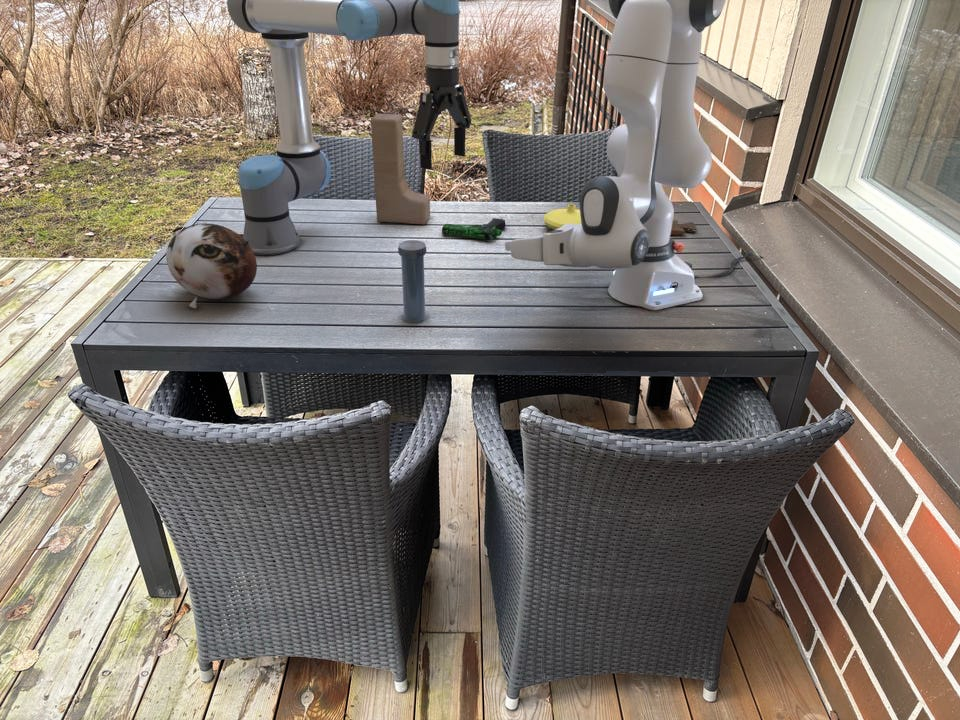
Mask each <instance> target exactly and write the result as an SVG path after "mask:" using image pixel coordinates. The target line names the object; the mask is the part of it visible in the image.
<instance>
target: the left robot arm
mask: <svg viewBox="0 0 960 720" xmlns="http://www.w3.org/2000/svg"><path fill="white" fill-rule="evenodd" d="M226 7H227V12H228V15H229V17H230V19H231V21H232V22H233V23H234V25H236V26H237V28H239V29H240V30H242V31H244V32H246V33H250V34H260V35H261V40H262V41H264V42H265V43H266V44H267V46H268V48H269V57H270V63H271V72H272V81H273V88H274V96H275V103H276V111H277V119H278V128H279V135H280V142H279V143H278V145H277V146H276V148H275V149H276V150H275V151H276V154H262V155H254V156H253V157H250V158H247V159H245V160H244V161H242V162H241V163H240V164H239V166H238V168H237V174H238V185H239V190H240V194H241V195H240V196H241V201H242V208H243V212H244V213H243V215H244V219H245V220H244V226H243V228H244V229H243V233H242V234H239V235H240V236H241V237H243V238H244V239H245V240H246V241H249V242H248V244H249V245H250V247H251V248H252V250H253V252H254V254H255V256H256V255H257V256H275V255H281V254H282V255H283V254H285V253H289V252H291V251H293V250H296V249H297V248H298V247H299V246H300V244H301V241H300V235H299V233H298V231H297V229H296V225H295V224H294V223H293V220H292V218H291V216H290V207H289V203H291V202H293V201H296V200H299V199H302V198H305V197H309V196H312V195H315V194H317V193H318V192H321V191H322V190H324V189H325V188H326V187H328V185H329V183H330V180H331V175H332V168H331V163H330V160H329V158H327V155H326V153H325V152H324V151H323V150H321V146H320V144H319V143H318V142H316V141H315V140H314V134H313V133H314V132H313V123H312V115H311V114H312V113H311V104H310V94H309V93H310V92H309V84H308V75H307V65H306V55H305V44H306V43H307V41H308V40H309V39H310V36H309V34H310V33H311V34H319V35H320V34H321V35H328V36H329V35H330V36H339V37H345V38H346V39H347V40H350V41H359V42H360V41H361V42H362V41H363V42H364V41H368V40H373V39H378V38H385V37H392V36H400V35H418V36H424V64H425V65H426V67H425V72H424V73H425V84H426V85H427V86H428V87H429V92H420V94H419V104H418V109H417V112H416V117H415V121H414V125H413V130H412V132H411V138H412V139H415V140H417V141H418V153H419V159H420V160H419V163H420V165H419V168H420V169H425V170H432V169H433V163H432V162H433V161H432V160H433V157H432V139H430V136H431V135H432V133H433V129H434V128H435V127H434V126H435V125H436V122H437V120H438V117H439V115H441V114H442V112H444V111H446V110H447V112H448V113H449V115H450V117H451V119H452V120H453V123H454V124H455V126H456V127H453V130H454V131H453V155H454V156H456V157H463V158H464V157H466V136H467V135H466V133H467V132H466V130H467V129H470V127H471V124H472V117H471V114H470V110H469V107H468V102H467V99H466V96H465V87H464V85H462V84H460V68H459V67H458V65H459V64H460V41H459V40H460V39H459V38H460V34H459V33H460V31H459V30H460V13H461V10H460V3H459V0H226ZM183 227H184V228H186V227H187V226H178V227H176V228H174V229H173V230H172V231H171V233H172V234H173V233H175V234H176V233H177V232H179V231H180V230H181V229H182V228H183ZM184 228H183V229H184Z"/></svg>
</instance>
